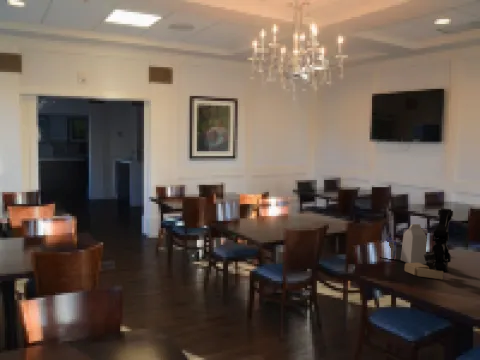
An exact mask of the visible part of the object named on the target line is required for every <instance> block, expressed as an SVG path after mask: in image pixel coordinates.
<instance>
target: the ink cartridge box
mask: <svg viewBox="0 0 480 360" xmlns="http://www.w3.org/2000/svg"><path fill="white" fill-rule="evenodd" d="M392 239H393V238H392V237H386V239H385V240H384V239H382V240H380V242H384V241H387V242H389V246H390V248H391V257H392V259H394V258H395V259H396V254H397V241H394V240H392ZM395 259H394V260H395Z"/></svg>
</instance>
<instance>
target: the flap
mask: <svg viewBox="0 0 480 360" xmlns="http://www.w3.org/2000/svg"><path fill="white" fill-rule="evenodd" d="M415 277H422V278H430V279H436V280H443V277H444V272H443V271H438V270H435V269H430V268H429V269H423V268H417V275H415Z"/></svg>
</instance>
